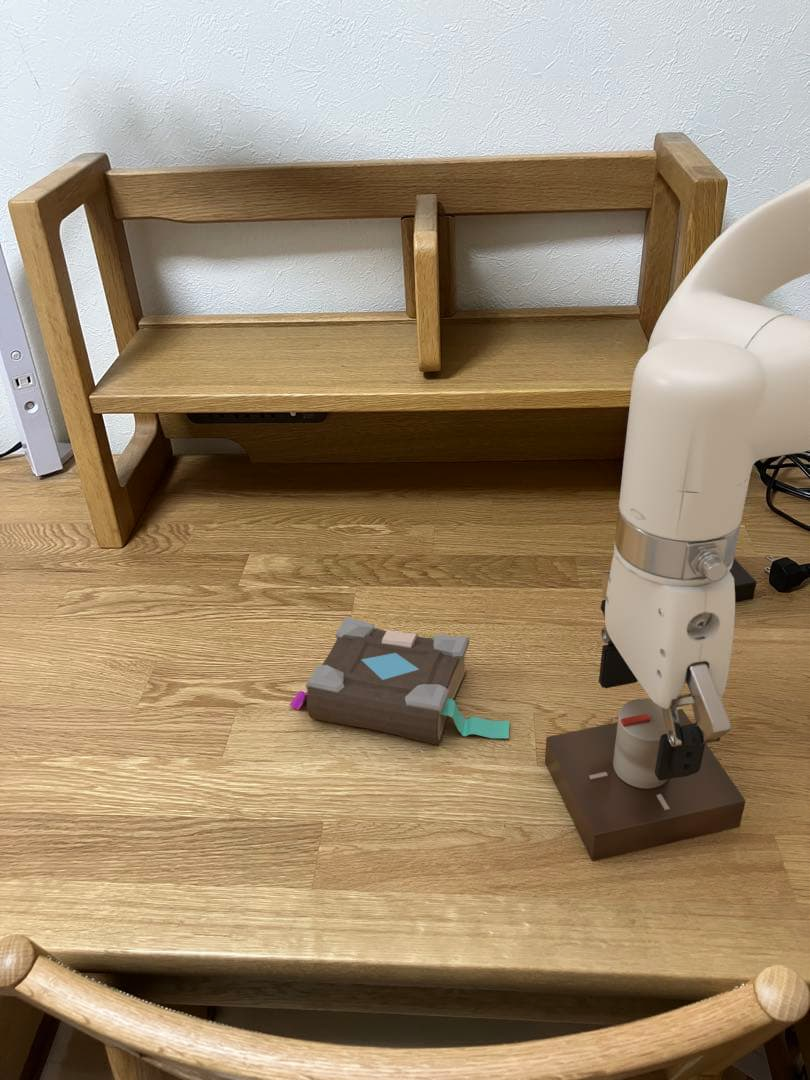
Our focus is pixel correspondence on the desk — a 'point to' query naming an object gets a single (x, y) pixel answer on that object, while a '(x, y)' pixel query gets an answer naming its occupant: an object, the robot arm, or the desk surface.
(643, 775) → the knob
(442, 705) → the book
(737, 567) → the button block
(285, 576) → the desk surface
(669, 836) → the panel
